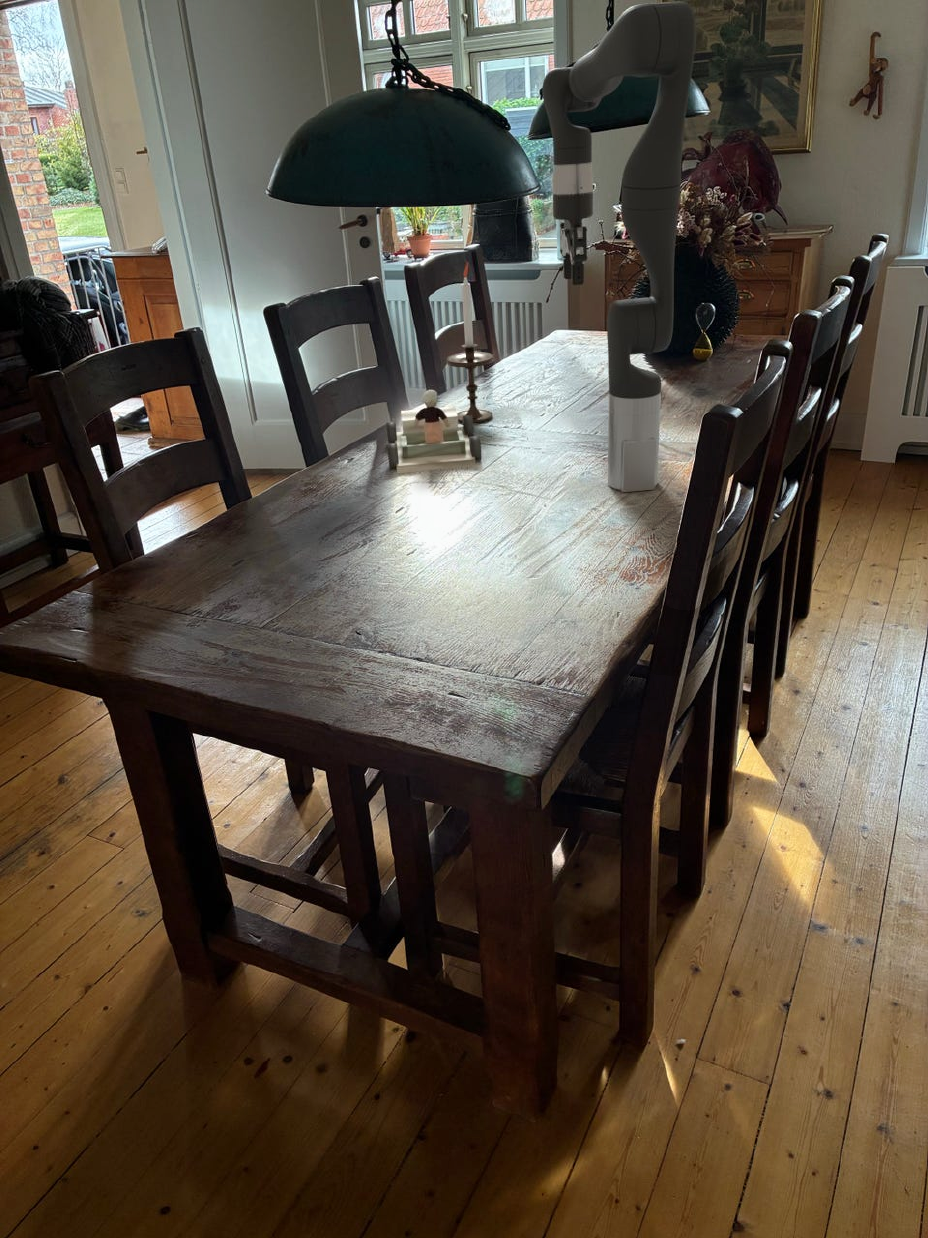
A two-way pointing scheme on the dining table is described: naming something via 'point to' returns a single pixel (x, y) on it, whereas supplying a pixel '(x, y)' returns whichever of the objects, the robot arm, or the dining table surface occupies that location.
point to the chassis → (432, 444)
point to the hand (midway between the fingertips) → (573, 281)
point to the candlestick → (470, 359)
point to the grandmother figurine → (431, 418)
